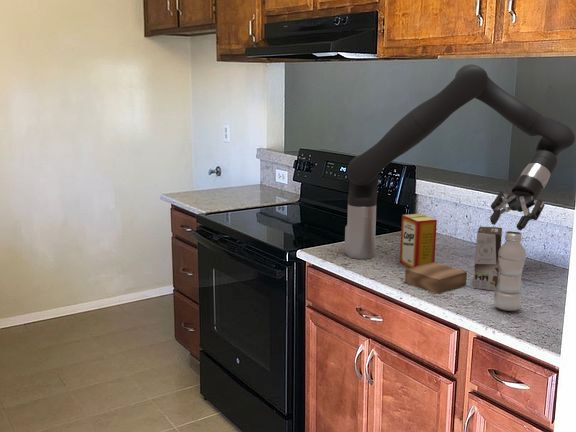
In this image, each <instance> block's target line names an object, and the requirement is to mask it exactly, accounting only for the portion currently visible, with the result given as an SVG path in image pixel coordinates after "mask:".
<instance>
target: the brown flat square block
mask: <svg viewBox="0 0 576 432" xmlns="http://www.w3.org/2000/svg"><path fill="white" fill-rule="evenodd" d="M404 272H405V275H404V276H405V277H404V278H405V279H404V283H405V284H409V285H411V286H414V287H417V288H419V289H422V290H425V291H428V292H431V293H434V294H437V295H440V294H443V293H447V292H449V291H452V290H455V289H459V288H463V287H465V286H467V278H468V276H467V275H468V274H467V273H468V272H467V271H465V270H461V269H458V268H455V267H451V266H448V265H445V264H441V263H437V262H436V261H434V262H432V263H428V264H424V265H420V266H416V267H412V268H408V267H407V268H405V271H404Z"/></svg>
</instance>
